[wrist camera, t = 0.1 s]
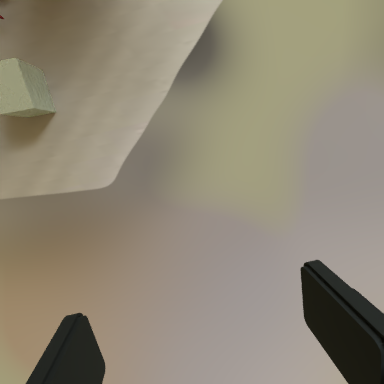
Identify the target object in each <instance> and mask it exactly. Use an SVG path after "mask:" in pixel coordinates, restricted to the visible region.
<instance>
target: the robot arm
mask: <svg viewBox="0 0 384 384" xmlns="http://www.w3.org/2000/svg"><path fill="white" fill-rule="evenodd" d="M301 281H302V294H303V310H304V319H305V321H306V324H307V325H308V327H309V328H310V330H311V331H312V333H313V334H314V335H315V337H316V338H317V340H318V341H319V343H320V344H321V345H322V347H323V348H324V350H325V351H326V352H327V354H328V355H329V357H330V358H331V360H332V361H333V363H334V364H335V365H336V367H337V368H338V369H339V371H340V372H341V374H342V375H343V377H344V378H345V379H346V381H347V382H348V384H384V314H383V313H382V312H381V311H380V310H379V309H377V308H376V307H375V306H374V305H372V303H370V302H369V301H368V300H367V299H366V298H364V297H363V296H362V295H361V294H360V293H359V292H357V291H356V290H355V289H353V288H351V287H350V286H349V285H347V284H346V283H345V282H344V281H343V280H342V279H340V278H339V277H338V276H337V275H336V274H335V273H333V272H332V271H331V270H330V269H329V268H328V267H327V266H325V265H324V264H323V263H322V262H321V261H319V260H315V261H310V262H306V263H304V267H301ZM104 374H105V362H104V359H103V357H102V354H101V352H100V349H99V346H98V344H97V341H96V339H95V336H94V334H93V331H92V329H91V326H90V323H89V321H88V318H87V317H86V316H83V314H82V313H77V314H73V315H68V316H66V317H65V318H64V319H63V320H62V322H61V324H60V326H59V327H58V329H57V331H56V333H55V334H54V336H53V338H52V339H51V341H50V343H49V345H48V346H47V348H46V350H45V351H44V353H43V355H42V357H41V358H40V360H39V362H38V364H37V365H36V367H35V369H34V371H33V372H32V374H31V376H30V377H29V379H28V381H27V383H26V384H102V381H103V378H104Z"/></svg>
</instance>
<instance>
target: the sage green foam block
mask: <svg viewBox="0 0 384 384" xmlns="http://www.w3.org/2000/svg"><path fill="white" fill-rule="evenodd" d="M54 112H56V110H55V107H54V104H53V101H52V98H51V95H50V92H49V89H48V86H47V83H46V80H45V77H44V74H43V71H42V70H41V69H39V68H37V67H35V66H32V65H30V64H28V63H26V62H24V61H22V60H20V59H18V58H11V59H5V60H0V115H8V116H18V117H33V116H38V115H43V114H48V113H54Z"/></svg>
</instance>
